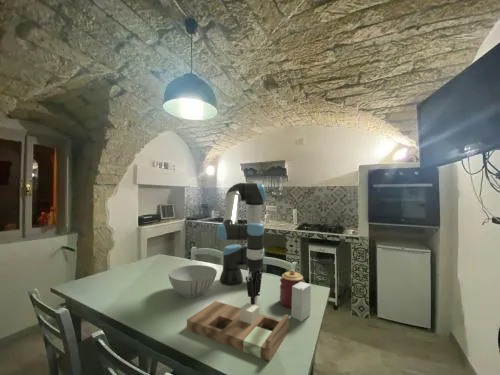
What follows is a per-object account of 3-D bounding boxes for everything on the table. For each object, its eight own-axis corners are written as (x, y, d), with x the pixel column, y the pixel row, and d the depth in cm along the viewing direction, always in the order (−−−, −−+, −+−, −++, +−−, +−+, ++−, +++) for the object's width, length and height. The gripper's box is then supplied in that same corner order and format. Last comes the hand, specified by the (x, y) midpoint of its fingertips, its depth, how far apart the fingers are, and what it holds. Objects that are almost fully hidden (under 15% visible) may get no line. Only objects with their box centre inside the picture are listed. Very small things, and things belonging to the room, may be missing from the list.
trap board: (186, 329, 99) (187, 312, 99) (215, 309, 116) (215, 294, 116) (269, 361, 81) (269, 341, 81) (288, 331, 98) (288, 315, 98)
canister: (285, 310, 116) (286, 274, 117) (276, 298, 129) (276, 266, 129) (309, 307, 120) (309, 272, 120) (297, 296, 132) (297, 265, 133)
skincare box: (300, 311, 116) (300, 280, 116) (311, 315, 112) (311, 284, 112) (290, 317, 110) (291, 285, 110) (301, 322, 106) (302, 289, 106)
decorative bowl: (205, 307, 118) (206, 283, 118) (157, 301, 123) (158, 278, 124) (222, 286, 144) (222, 266, 144) (182, 282, 150) (182, 263, 150)
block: (239, 320, 99) (239, 308, 99) (247, 314, 104) (247, 302, 104) (251, 324, 96) (252, 312, 96) (258, 318, 101) (259, 306, 101)
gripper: (255, 262, 98) (254, 319, 97) (268, 255, 109) (267, 306, 109) (240, 259, 101) (239, 315, 101) (254, 253, 113) (253, 302, 112)
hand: (253, 310), depth 105 cm, fingers closed
